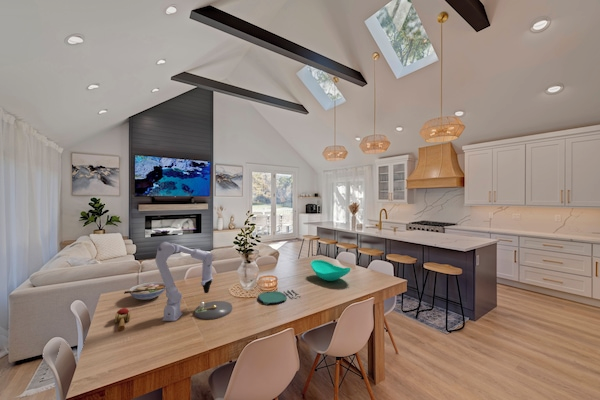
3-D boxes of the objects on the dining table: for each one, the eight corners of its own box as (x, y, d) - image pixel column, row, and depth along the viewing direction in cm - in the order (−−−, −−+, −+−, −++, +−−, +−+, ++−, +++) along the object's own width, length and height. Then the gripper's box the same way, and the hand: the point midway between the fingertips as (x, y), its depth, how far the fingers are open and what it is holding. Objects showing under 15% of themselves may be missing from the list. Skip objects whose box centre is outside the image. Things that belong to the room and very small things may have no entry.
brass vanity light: (216, 306, 155) (216, 298, 155) (217, 308, 152) (217, 300, 152) (197, 309, 149) (197, 302, 149) (197, 312, 147) (198, 304, 147)
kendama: (132, 330, 131) (132, 312, 145) (129, 320, 129) (130, 303, 144) (114, 337, 127) (116, 318, 141) (111, 326, 125) (113, 308, 140)
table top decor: (302, 277, 221) (303, 262, 221) (323, 271, 240) (323, 258, 240) (337, 290, 192) (337, 273, 192) (357, 282, 211) (358, 267, 211)
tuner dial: (226, 319, 142) (226, 316, 142) (188, 319, 141) (188, 316, 141) (235, 303, 164) (235, 301, 164) (202, 303, 163) (202, 300, 163)
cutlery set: (254, 296, 177) (254, 293, 177) (291, 290, 191) (291, 287, 190) (263, 307, 159) (263, 304, 159) (304, 300, 173) (304, 297, 173)
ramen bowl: (170, 290, 185) (170, 279, 185) (167, 302, 164) (167, 289, 164) (131, 294, 175) (131, 282, 175) (122, 307, 154) (122, 294, 154)
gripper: (209, 275, 150) (208, 297, 150) (216, 268, 165) (216, 288, 165) (197, 274, 150) (197, 297, 150) (206, 268, 165) (205, 288, 165)
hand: (206, 292), depth 157 cm, fingers closed
